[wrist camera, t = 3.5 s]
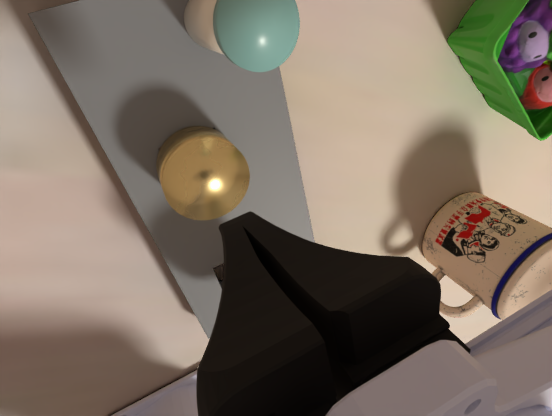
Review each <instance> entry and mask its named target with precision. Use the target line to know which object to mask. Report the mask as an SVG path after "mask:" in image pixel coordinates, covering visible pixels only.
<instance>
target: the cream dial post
mask: <svg viewBox="0 0 552 416" xmlns="http://www.w3.org/2000/svg"><path fill="white" fill-rule="evenodd" d="M184 23H185V27H186V30H187V32H188V34H189V36H190V37H191V39H192V40H193V41H194V42H195V43H197V44H198V45H200V46H202V47H204V48H207V49H210V50H212V51H215V52H218V53H220V54H223V55H225V56H226V58H227V59H229V60H230V61H231V62H232V63H233V64H235V65H237V66H239V67H241V68H243V69H246V70H249V71H252V72H266V71H270V70H273V69H275V68H277V67H278V66H280V65H281V64H282V63H284V62H285V61H286V59H287V58H288V57H289V56H290V54H291V53H292V51H293V49H294V47H295V45H296V42H297V39H298V34H299V27H300V20H299V12H298V8H297V5H296V2H295V0H189V1H188V3H187V5H186V8H185V11H184Z"/></svg>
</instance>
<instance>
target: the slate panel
mask: <svg viewBox="0 0 552 416" xmlns="http://www.w3.org/2000/svg"><path fill="white" fill-rule="evenodd" d="M188 1H189V0H79V1H75V2H71V3H67V4H63V5H59V6H56V7H52V8H48V9H44V10H40V11H36V12H32V13H28V15H29V16H30V18H31V20H32V22H33V24H34V25H35V27H36V29H37V31H38V33H39V34H40V36H41V38H42V40H43V42H44V43H45V45H46V47H47V49H48V51H49V52H50V54H51V56H52V58H53V60H54V61H55V63H56V65H57V67H58V69H59V70H60V72H61V74H62V76H63V78H64V79H65V81H66V83H67V85H68V87H69V88H70V90H71V92H72V94H73V96H74V97H75V99H76V101H77V103H78V105H79V106H80V108H81V110H82V112H83V114H84V115H85V117H86V119H87V121H88V123H89V124H90V126H91V128H92V130H93V132H94V133H95V135H96V137H97V139H98V141H99V142H100V144H101V146H102V148H103V150H104V151H105V153H106V155H107V157H108V159H109V160H110V162H111V164H112V166H113V168H114V169H115V171H116V173H117V175H118V177H119V178H120V180H121V182H122V184H123V186H124V188H125V189H126V191H127V193H128V195H129V197H130V198H131V200H132V202H133V204H134V206H135V207H136V209H137V211H138V213H139V215H140V216H141V218H142V220H143V222H144V224H145V225H146V227H147V229H148V231H149V233H150V234H151V236H152V238H153V240H154V242H155V243H156V245H157V247H158V249H159V251H160V252H161V254H162V256H163V258H164V260H165V261H166V263H167V265H168V267H169V269H170V270H171V272H172V274H173V276H174V278H175V279H176V281H177V283H178V285H179V287H180V288H181V290H182V292H183V294H184V296H185V297H186V299H187V301H188V303H189V305H190V306H191V308H192V310H193V312H194V314H195V315H196V317H197V319H198V321H199V323H200V324H201V326H202V328H203V330H204V332H205V333H206V335H207V337H208V339H209V338H210V337H211V333H212V330H213V327H214V324H215V321H216V317H217V313H218V308H219V303H220V298H221V292H222V285H223V280H222V281H220V282H219V281H218V279H217V276H216V274H215V272H214V270H213V268H214V267H217V266H219V265H221V264H223V263H224V254H223V242H222V236H221V233H220V231H219V226H220V224H222V223H224V222H227V221H229V220H231V219H233V218H236V217H238V216H240V215H242V214H245V213H247V212H249V211H251V212H254V213H255V214H257V215H258V216H260V217H262V218H263V219H265V220H267V221H268V222H270V223H272V224H274V225H276V226H278V227H280V228H282V229H284V230H286V231H288V232H290V233H292V234H294V235H296V236H299V237H301V238H303V239H306V240H309V241H311V242H314V243H315V241H314V236H313V231H312V226H311V221H310V216H309V211H308V206H307V201H306V196H305V191H304V187H303V182H302V177H301V172H300V167H299V162H298V157H297V152H296V147H295V142H294V137H293V132H292V127H291V122H290V117H289V112H288V107H287V102H286V97H285V92H284V88H283V83H282V78H281V73H280V68H279V66H278V67H277V68H275V69H273V70H270V71H266V72H252V71H249V70H246V69H243V68H241V67H239V66H237V65H235V64H233V63H232V62H231V61H230V60H229V59H227V58H226V56H225V55H223V54H220V53H218V52H215V51H212V50H210V49H207V48H204V47H202V46H200V45H198V44H197V43H195V42H194V41H193V40H192V39H191V37H190V36H189V34H188V32H187V30H186V27H185V23H184V11H185V8H186V5H187V3H188ZM190 126H206V127H210V128H213V129H215V130H217V131H219V132H220V133H222V134H223V135H224V136H225V137H226V138H227V139H228V140H229V141H230V142H231V143H232V144H233V145H234V146H235V147H236V148H237V149H238V150H239V151H240V152H241V153H242V155H243V156H244V157H245V159H246V161H247V164H248V167H249V172H250V181H249V186H248V189H247V192H246V194H245V196H244V198H243V199H242V201H241V202H240V203H239V204H238V205H237V206H236V207H235V208H234V209H233V210H232V211H230V212H229V213H227V214H226V215H224V216H222V217H219V218H216V219H212V220H193V219H189V218H186V217H184V216H182V215H180V214H179V213H177V212H176V211H175V210H174V209H173V208H172V207H171V206H170V205H169V203H168V202H167V200H166V198H165V195H164V192H163V189H162V186H161V183H160V180H159V177H158V174H157V169H156V161H157V156H158V153H159V149H158V148H160V147H161V146H162V145H163V143H164V142H165V141H166V139H167V138H168V137H169V136H171V135H172V134H173V133H175V132H176V131H178V130H180V129H183V128H186V127H190Z"/></svg>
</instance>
